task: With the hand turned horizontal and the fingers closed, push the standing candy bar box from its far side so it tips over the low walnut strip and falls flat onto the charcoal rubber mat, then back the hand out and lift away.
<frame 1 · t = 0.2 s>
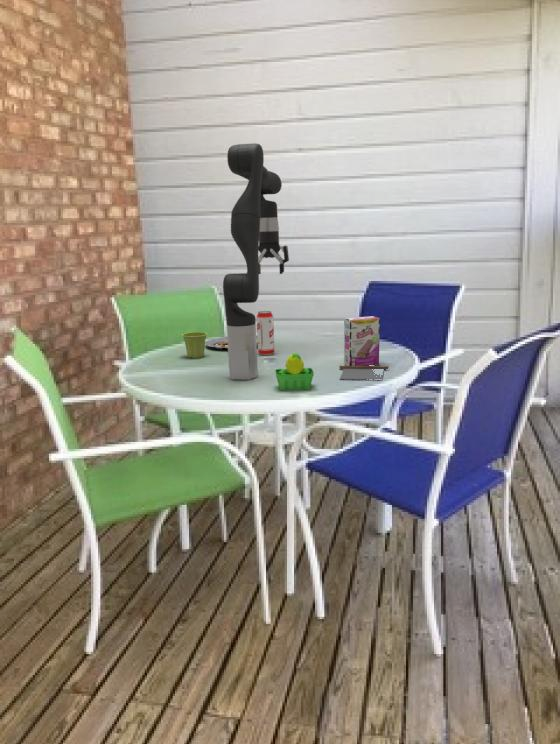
hand: (270, 274, 247), 29 cm above the table, tool pointing down, fingers open, 8 cm apart
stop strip: (363, 369, 215), on the table
food plate: (236, 346, 264), on the table
beer can: (266, 354, 245), on the table
fruit basket: (294, 388, 195), on the table
mat: (362, 374, 208), on the table
plant pot: (196, 357, 245), on the table
candy bar box: (362, 366, 220), on the table
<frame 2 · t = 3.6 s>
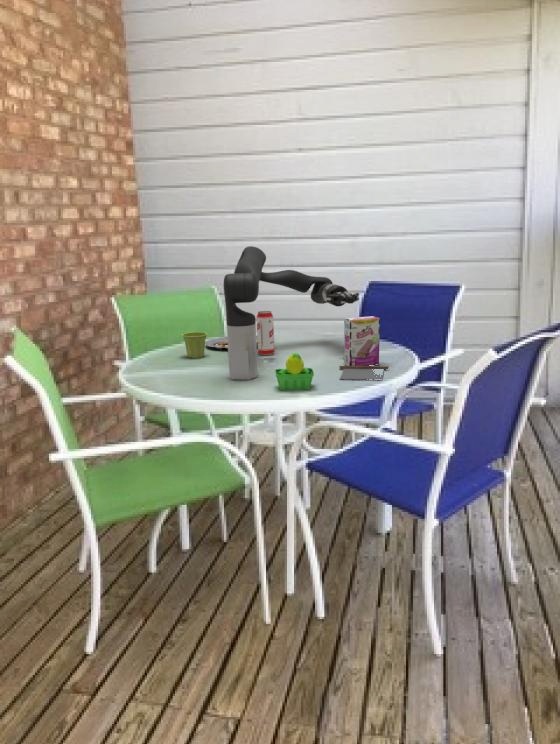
hand: (351, 300, 225), 21 cm above the table, tool horizontal, fingers closed
nothing on the table moved.
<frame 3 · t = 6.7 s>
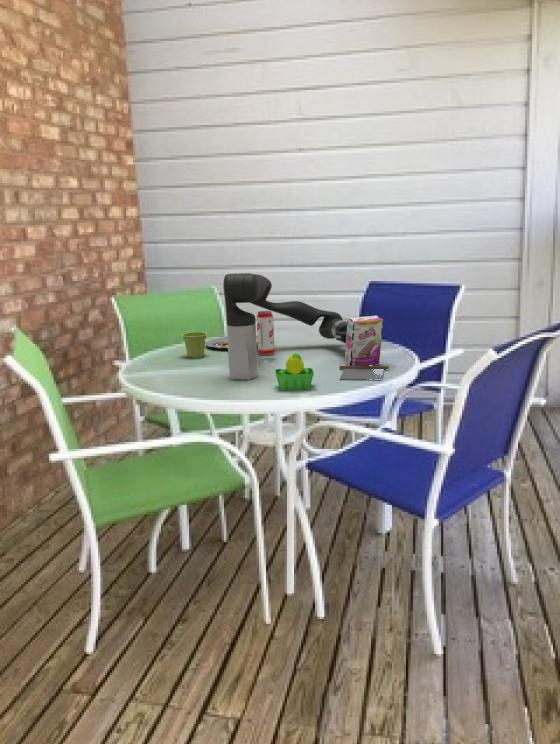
hand: (361, 339, 220), 9 cm above the table, tool horizontal, fingers closed
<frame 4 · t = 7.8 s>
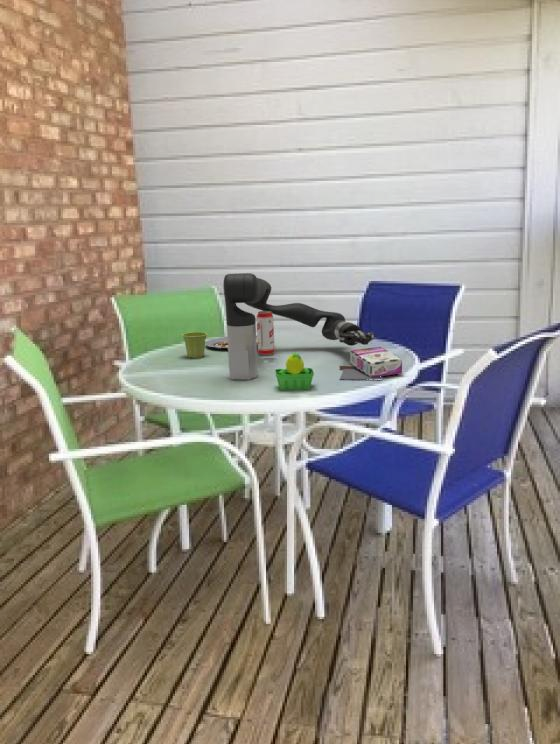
hand: (365, 341, 215), 9 cm above the table, tool horizontal, fingers closed
candy bar box: (364, 355, 218), point 4 cm above the table, touching mat, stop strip
everything else where it was.
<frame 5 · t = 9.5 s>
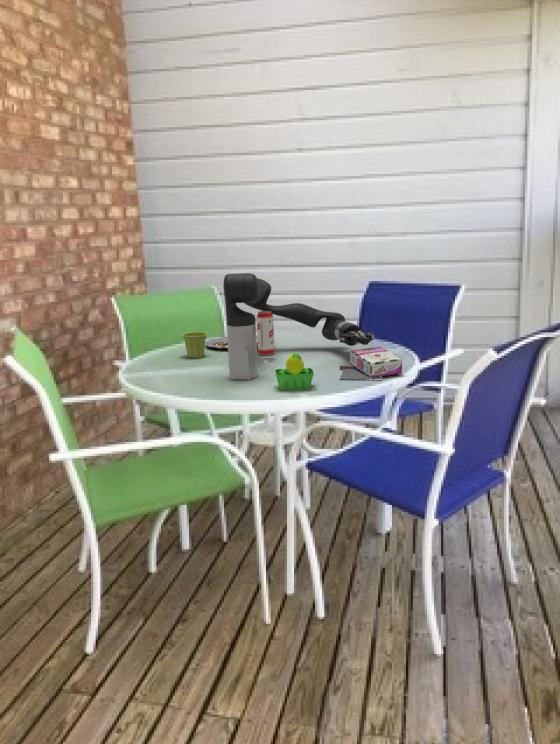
hand: (366, 341, 215), 9 cm above the table, tool horizontal, fingers closed
nothing on the table moved.
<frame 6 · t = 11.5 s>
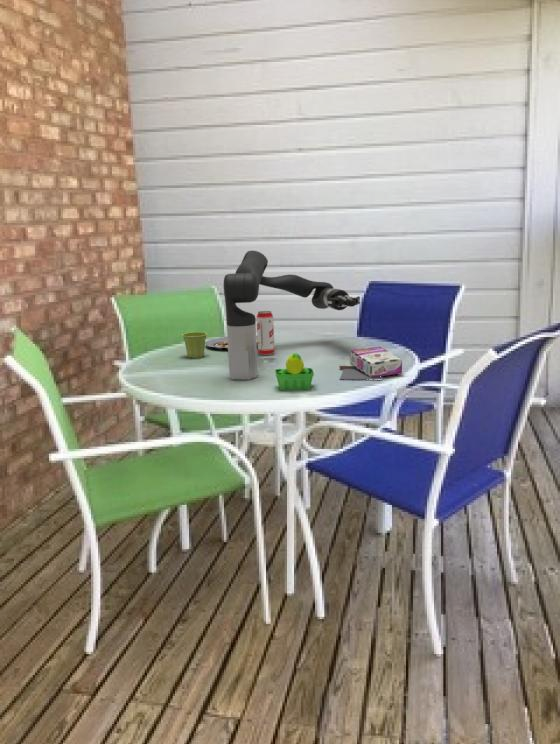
hand: (352, 303, 226), 20 cm above the table, tool horizontal, fingers closed
nothing on the table moved.
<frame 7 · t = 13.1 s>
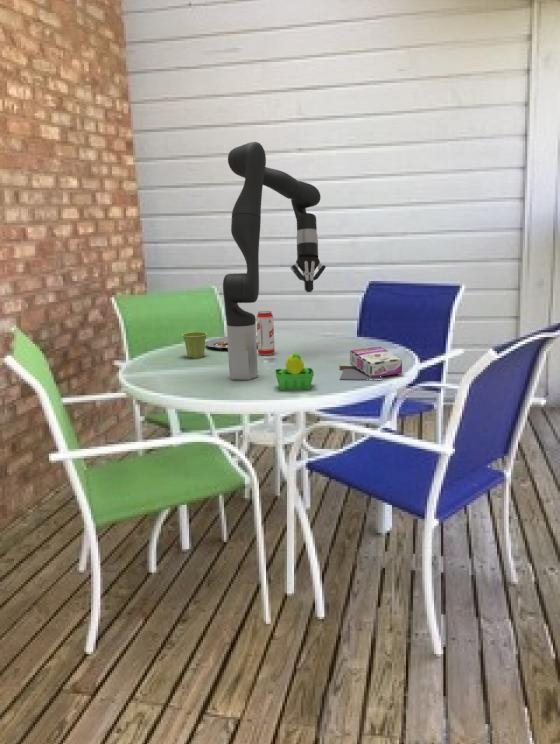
hand: (309, 291, 232), 24 cm above the table, tool pointing down, fingers closed
nothing on the table moved.
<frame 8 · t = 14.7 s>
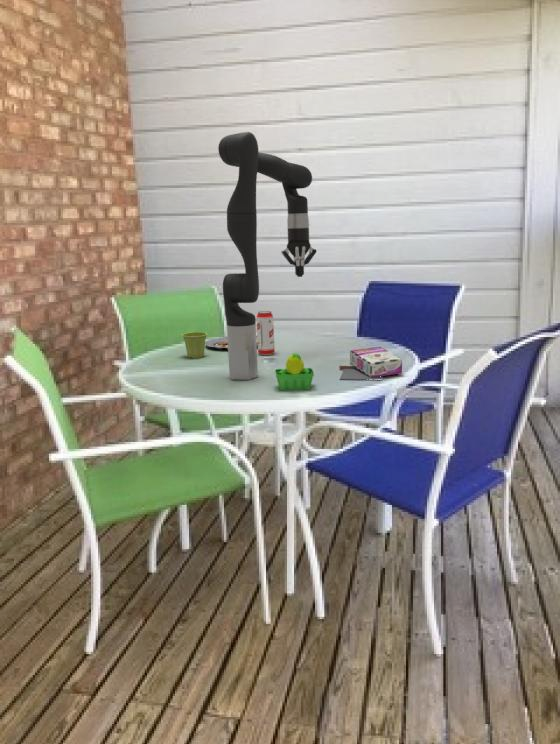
hand: (299, 276, 232), 29 cm above the table, tool pointing down, fingers closed
nothing on the table moved.
at the end: candy bar box tilted 93°; candy bar box inside the target area (9.6 cm from its centre), point 3.9 cm above the table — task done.
